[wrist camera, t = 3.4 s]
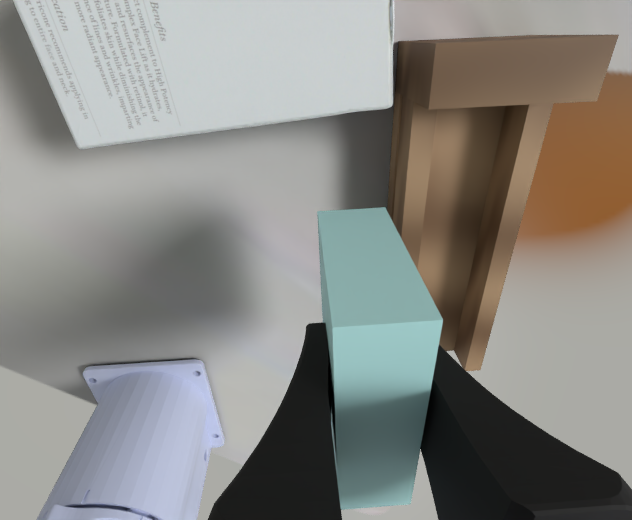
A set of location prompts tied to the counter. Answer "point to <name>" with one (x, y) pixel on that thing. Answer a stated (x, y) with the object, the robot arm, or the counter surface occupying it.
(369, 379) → the door panel
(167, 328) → the counter surface
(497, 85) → the track
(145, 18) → the skincare box
